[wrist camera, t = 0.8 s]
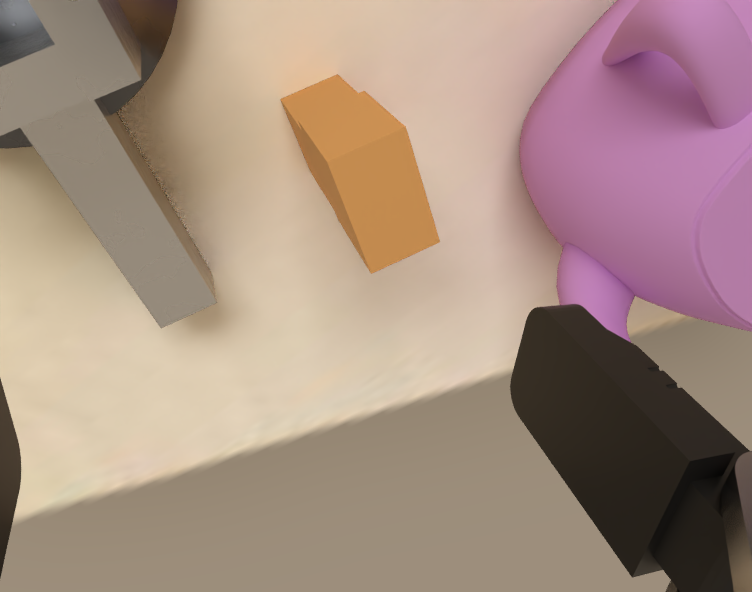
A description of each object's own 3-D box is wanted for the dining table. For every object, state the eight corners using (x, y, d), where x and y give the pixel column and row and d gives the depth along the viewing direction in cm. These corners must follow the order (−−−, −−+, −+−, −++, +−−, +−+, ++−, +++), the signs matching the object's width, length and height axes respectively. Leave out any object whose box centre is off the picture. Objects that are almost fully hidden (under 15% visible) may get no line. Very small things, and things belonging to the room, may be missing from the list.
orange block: (333, 64, 30) (405, 126, 22) (366, 156, 33) (440, 242, 25) (276, 89, 29) (327, 161, 21) (314, 180, 32) (371, 273, 24)
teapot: (641, -189, 28) (1020, -253, 16) (799, 98, 40) (1088, 187, 28) (329, 202, 33) (435, 375, 21) (548, 354, 45) (698, 523, 33)
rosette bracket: (30, -417, 19) (-20, -559, 13) (313, 227, 34) (351, 299, 28) (-456, -244, 18) (-751, -313, 12) (53, 344, 33) (33, 446, 27)
